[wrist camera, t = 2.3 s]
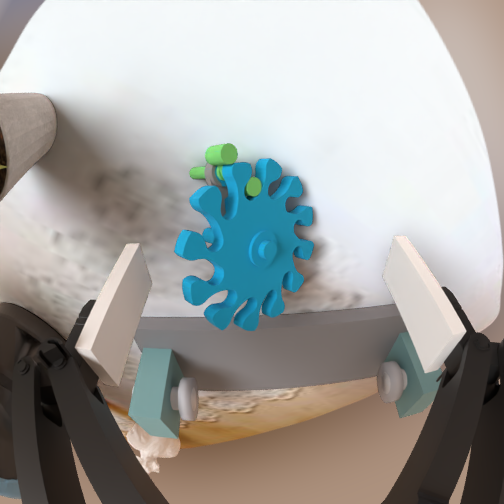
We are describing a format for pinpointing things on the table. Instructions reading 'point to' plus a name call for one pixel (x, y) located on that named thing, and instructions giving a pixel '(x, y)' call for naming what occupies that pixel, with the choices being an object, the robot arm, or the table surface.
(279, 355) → the shaft stand
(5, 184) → the house plant
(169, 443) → the white irregular lump
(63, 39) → the table surface
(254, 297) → the gear
